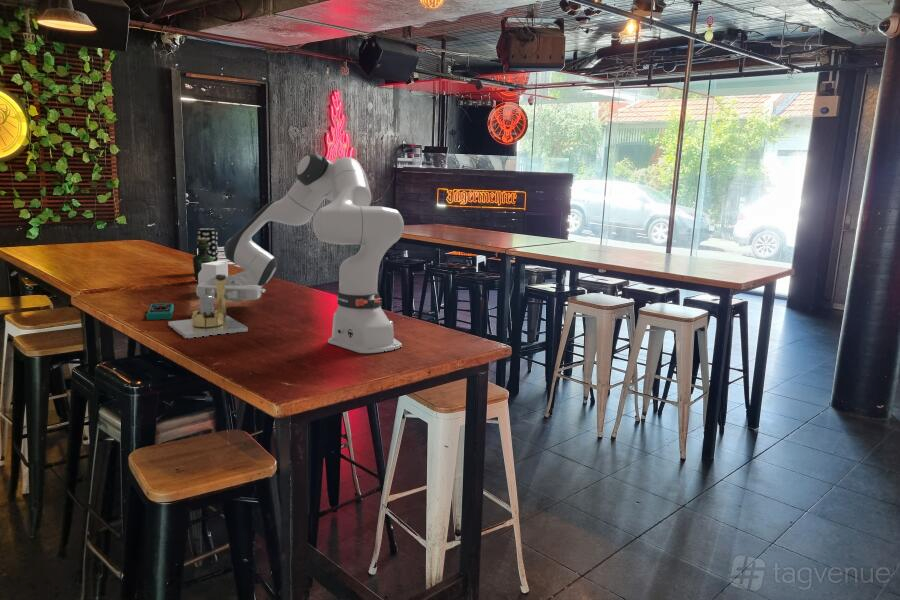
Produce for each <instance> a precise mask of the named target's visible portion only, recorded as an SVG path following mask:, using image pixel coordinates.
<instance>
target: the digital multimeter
mask: <svg viewBox="0 0 900 600" xmlns="http://www.w3.org/2000/svg"><path fill="white" fill-rule="evenodd" d="M174 310H175V305H174V303H171V302H170V303H169V302H158V303H157V302H156V303H151V304H149V309H148V311H147V313H146V320H147V321H161V320H160V319H165V320H172V318H173V313H174Z"/></svg>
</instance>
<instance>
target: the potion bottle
mask: <svg viewBox="0 0 900 600" xmlns="http://www.w3.org/2000/svg"><path fill="white" fill-rule="evenodd" d="M206 242H207V239H206V238H197V243H195V244H194V245H195V246H194V247H195V248H196V249H197V252H198V251H199V254H198V253H197V254H196V255H194V256H193V257H192V264H193V272H194V280H197V281H198V273H199V272H200V271H201V270H202V267H201V264H203V263H209V262H213V258H212V256H210V255H208V254H206V253H207V248H209V247H210V246H209V244H206ZM198 243H199V244H198Z"/></svg>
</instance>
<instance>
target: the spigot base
mask: <svg viewBox="0 0 900 600" xmlns="http://www.w3.org/2000/svg"><path fill="white" fill-rule="evenodd" d="M214 309H215V298H214V295H200V297H199V311H200V314H205V318H208V317H214ZM167 323H168V325H167V326H169V327H170V328H171V329H172V328H173V329H172V330H174V332H176V333H178V334H179V335H180V336H181V335H182V338H184V339H185V340H186V338H188V339H195V338H194V337H196V338H203V337H202V336H204V337H210V336H209V335H213V336H218V335H217V334H221V335H227V334H226V333H229V334H236V333H237V332H238V333H244V332H245V333H247V332H249V329H248V326H246V325H245V324H243V323H241V322H240V321H238V320H236V319H235V318H232V317H231V316H229V315H226V318H223V324H221V325H218V326H212V327H198V326H194V325H193V324H192V318H190V319H189V318H187V319H180V320H170V321H167Z"/></svg>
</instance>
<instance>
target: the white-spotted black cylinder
mask: <svg viewBox="0 0 900 600" xmlns="http://www.w3.org/2000/svg"><path fill="white" fill-rule="evenodd" d="M196 233H197V234H196V235H197V237H196V238H197V239H198V238H206V239H207V242H206V244H209V246H210V247H209V248H207V253H206V254H208V255H210V256H212V258H213V262H214V261H219V249H218V248H219V245H218V244H219V242H218V229H217V228H215V227H214V228H213V227H212V228H211V227H210V228H209V227H202V228H197V229H196ZM197 244H199V243H198V242H197ZM198 254H199V251H198V250H197V255H198Z"/></svg>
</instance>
